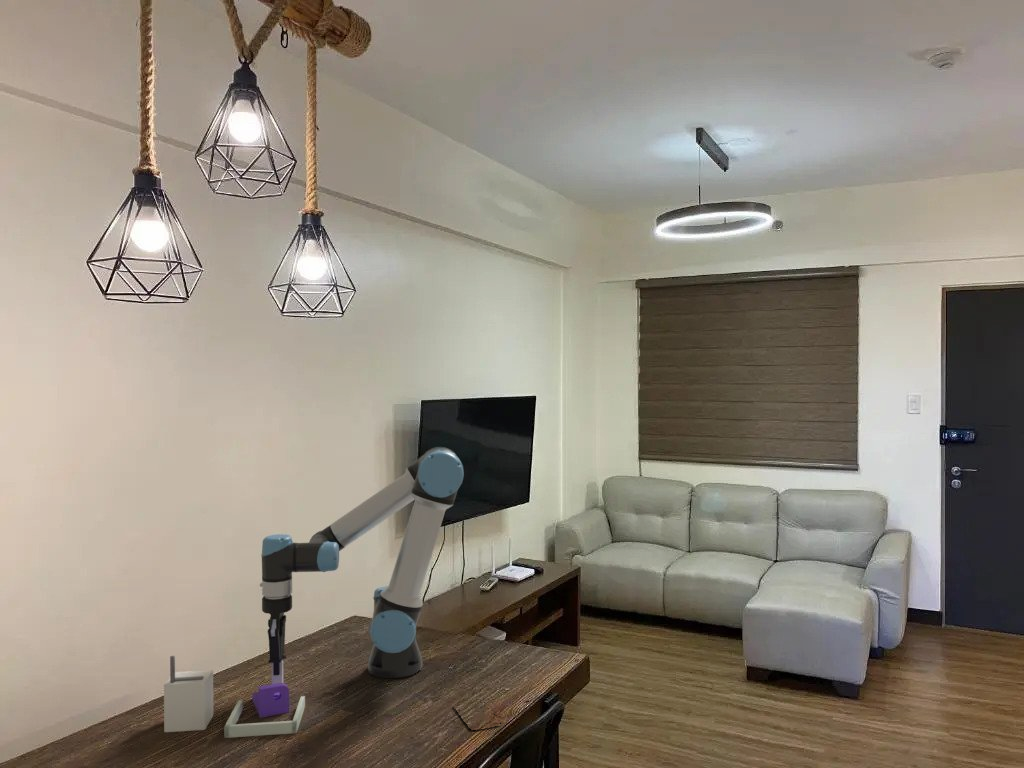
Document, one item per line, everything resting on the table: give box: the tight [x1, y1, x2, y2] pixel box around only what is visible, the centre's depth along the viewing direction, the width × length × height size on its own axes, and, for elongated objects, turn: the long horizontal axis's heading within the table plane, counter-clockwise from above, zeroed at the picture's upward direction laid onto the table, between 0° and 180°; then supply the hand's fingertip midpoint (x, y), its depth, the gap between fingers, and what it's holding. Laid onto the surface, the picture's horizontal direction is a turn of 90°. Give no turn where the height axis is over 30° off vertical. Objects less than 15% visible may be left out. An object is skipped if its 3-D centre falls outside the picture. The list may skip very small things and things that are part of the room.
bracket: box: [252, 682, 290, 718], centre depth 192 cm, size 12×7×7 cm, turn 27°
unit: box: [163, 655, 214, 733], centre depth 183 cm, size 9×8×17 cm
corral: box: [223, 695, 306, 739], centre depth 183 cm, size 16×15×2 cm
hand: (277, 685), depth 200 cm, fingers closed
